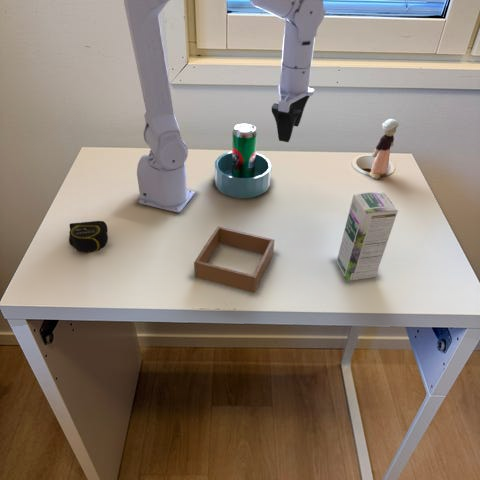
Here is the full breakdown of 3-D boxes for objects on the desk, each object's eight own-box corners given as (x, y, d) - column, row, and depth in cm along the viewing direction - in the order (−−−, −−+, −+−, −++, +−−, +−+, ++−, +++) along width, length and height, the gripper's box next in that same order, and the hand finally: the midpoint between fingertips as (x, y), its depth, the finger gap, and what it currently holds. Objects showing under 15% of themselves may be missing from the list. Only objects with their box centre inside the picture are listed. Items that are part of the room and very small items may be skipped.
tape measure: (109, 232, 91) (105, 216, 88) (109, 255, 86) (105, 238, 83) (72, 235, 90) (68, 219, 87) (70, 258, 85) (65, 242, 82)
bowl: (206, 191, 102) (206, 172, 98) (226, 164, 109) (226, 146, 106) (260, 203, 99) (261, 184, 96) (276, 175, 107) (277, 156, 104)
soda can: (252, 188, 102) (254, 134, 93) (229, 185, 102) (230, 131, 94) (256, 176, 105) (259, 123, 96) (234, 173, 106) (235, 120, 97)
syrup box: (335, 261, 87) (351, 193, 76) (364, 257, 88) (384, 189, 77) (346, 282, 83) (365, 213, 72) (377, 277, 84) (399, 209, 73)
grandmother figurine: (380, 182, 106) (395, 128, 97) (364, 177, 107) (377, 123, 98) (391, 168, 110) (407, 115, 101) (376, 163, 112) (390, 110, 102)
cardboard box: (194, 277, 83) (193, 262, 80) (217, 240, 90) (217, 225, 87) (254, 293, 80) (255, 278, 78) (273, 254, 88) (274, 239, 85)
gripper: (307, 80, 83) (298, 151, 93) (325, 54, 93) (315, 121, 103) (270, 74, 85) (265, 145, 95) (291, 49, 94) (284, 116, 104)
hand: (288, 132), depth 99 cm, fingers open, 7 cm apart
